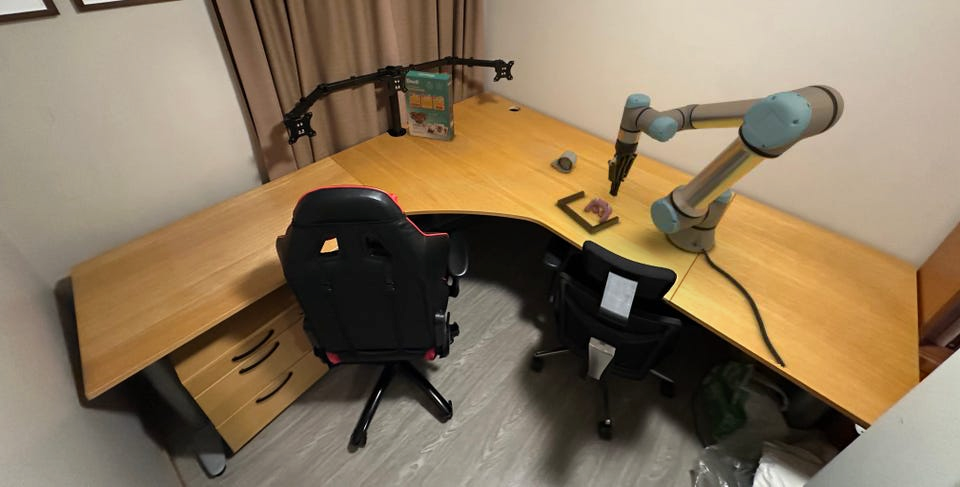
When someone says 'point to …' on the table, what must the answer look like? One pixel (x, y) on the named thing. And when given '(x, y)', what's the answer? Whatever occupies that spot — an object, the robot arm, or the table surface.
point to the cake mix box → (430, 105)
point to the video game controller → (596, 204)
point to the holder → (578, 218)
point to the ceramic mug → (565, 161)
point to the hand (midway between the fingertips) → (613, 194)
